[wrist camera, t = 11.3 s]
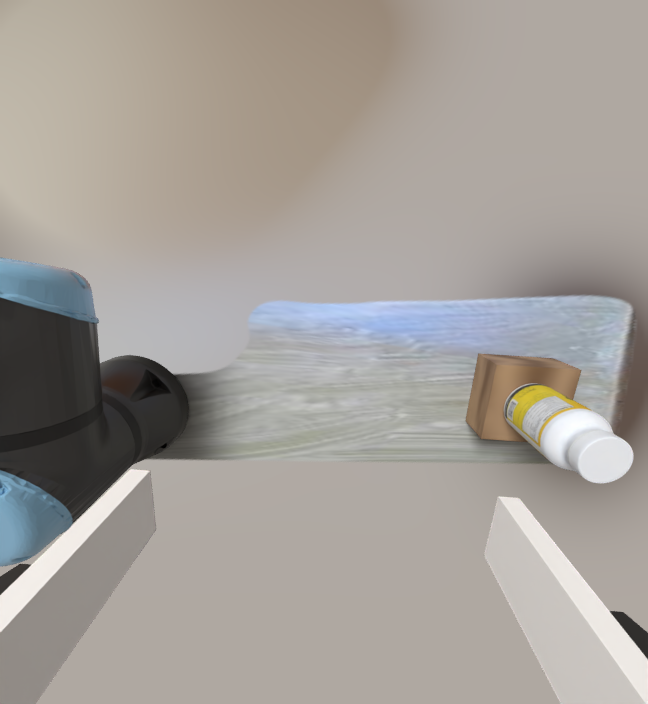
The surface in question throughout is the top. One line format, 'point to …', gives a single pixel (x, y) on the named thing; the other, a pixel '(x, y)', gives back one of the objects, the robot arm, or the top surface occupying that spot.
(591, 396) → the top surface
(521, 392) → the pill bottle
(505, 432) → the walnut block
